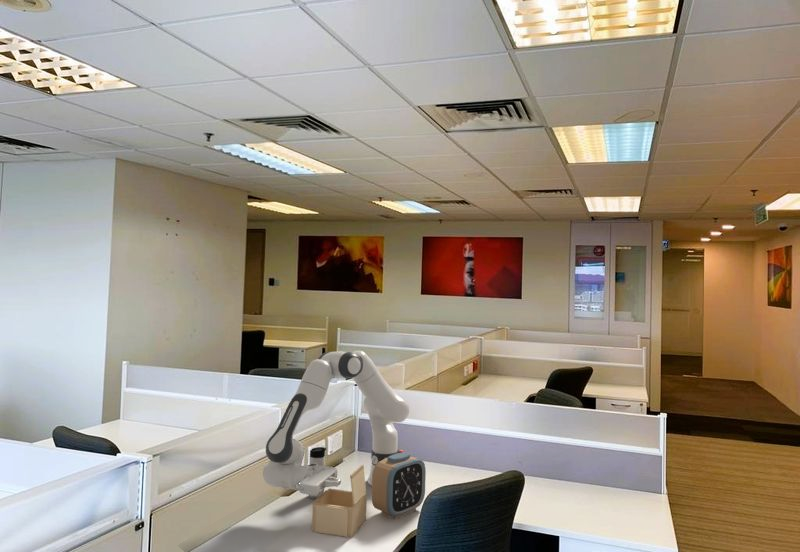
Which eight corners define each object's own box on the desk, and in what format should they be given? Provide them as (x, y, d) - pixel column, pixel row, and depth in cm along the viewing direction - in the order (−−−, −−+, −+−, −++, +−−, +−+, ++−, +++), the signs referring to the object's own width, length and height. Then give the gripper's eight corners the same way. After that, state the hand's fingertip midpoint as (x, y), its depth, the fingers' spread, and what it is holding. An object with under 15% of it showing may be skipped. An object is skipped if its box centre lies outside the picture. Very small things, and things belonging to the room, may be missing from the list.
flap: (353, 504, 198) (350, 475, 198) (364, 492, 210) (361, 464, 210) (354, 504, 198) (351, 475, 198) (366, 492, 209) (363, 464, 210)
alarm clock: (389, 523, 209) (390, 464, 209) (371, 515, 215) (372, 458, 215) (425, 508, 224) (426, 453, 224) (407, 501, 230) (408, 447, 230)
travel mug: (321, 500, 229) (323, 450, 229) (306, 498, 230) (307, 449, 230) (326, 494, 235) (328, 446, 235) (311, 492, 236) (313, 444, 237)
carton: (327, 514, 216) (328, 487, 216) (366, 519, 211) (367, 492, 211) (309, 531, 200) (310, 503, 200) (351, 538, 196) (351, 509, 196)
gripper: (291, 479, 200) (328, 484, 196) (316, 461, 219) (349, 465, 216) (291, 497, 200) (327, 502, 196) (315, 478, 219) (349, 482, 216)
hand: (339, 483), depth 206 cm, fingers closed
